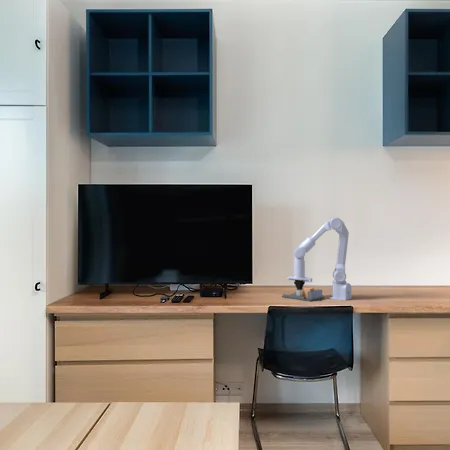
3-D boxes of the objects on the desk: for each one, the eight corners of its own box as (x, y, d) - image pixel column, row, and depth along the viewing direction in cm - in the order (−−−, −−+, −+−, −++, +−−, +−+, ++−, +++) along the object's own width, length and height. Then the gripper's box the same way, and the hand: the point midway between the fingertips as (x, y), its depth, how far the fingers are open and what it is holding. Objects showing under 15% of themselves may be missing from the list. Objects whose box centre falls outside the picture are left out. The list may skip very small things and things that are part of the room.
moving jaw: (311, 295, 240) (311, 288, 240) (300, 297, 233) (300, 290, 233) (306, 294, 242) (306, 287, 242) (296, 297, 235) (295, 289, 235)
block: (314, 297, 235) (314, 288, 235) (310, 298, 232) (310, 288, 232) (308, 296, 238) (308, 287, 238) (303, 297, 235) (303, 288, 235)
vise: (323, 298, 236) (323, 289, 236) (310, 301, 227) (309, 292, 227) (295, 294, 249) (295, 286, 249) (281, 297, 240) (281, 288, 240)
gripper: (314, 269, 238) (314, 294, 238) (291, 267, 247) (291, 291, 247) (308, 270, 232) (308, 296, 232) (285, 269, 241) (285, 293, 242)
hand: (299, 294), depth 239 cm, fingers closed
